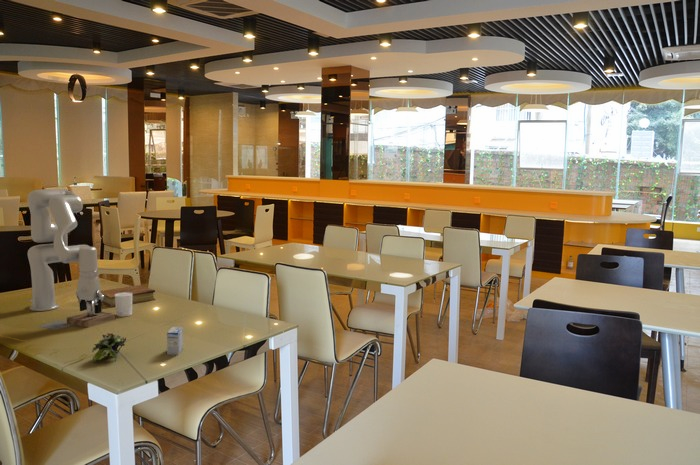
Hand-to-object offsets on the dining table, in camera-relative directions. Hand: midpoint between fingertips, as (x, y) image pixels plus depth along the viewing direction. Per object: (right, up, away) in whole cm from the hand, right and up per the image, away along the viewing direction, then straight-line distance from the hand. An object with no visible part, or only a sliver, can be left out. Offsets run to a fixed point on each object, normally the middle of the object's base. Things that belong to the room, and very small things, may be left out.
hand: (90, 311), depth 253 cm
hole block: (0, -5, +1) cm, 5 cm away
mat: (-12, -6, -6) cm, 14 cm away
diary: (0, -1, +42) cm, 42 cm away
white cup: (+10, -4, +13) cm, 17 cm away
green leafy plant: (+29, -11, -46) cm, 56 cm away
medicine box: (+50, -10, -38) cm, 63 cm away
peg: (0, -5, +1) cm, 5 cm away
